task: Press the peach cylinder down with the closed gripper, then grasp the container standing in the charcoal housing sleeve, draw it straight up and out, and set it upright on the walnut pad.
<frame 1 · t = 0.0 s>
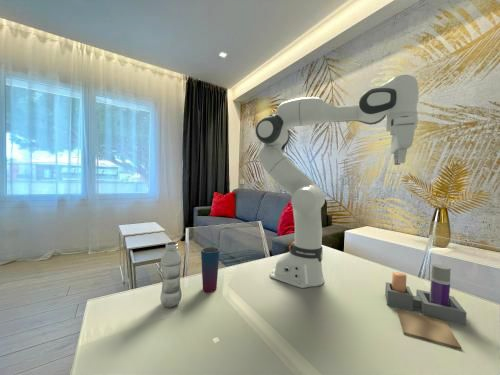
hand: (399, 164, 78), 48 cm above the table, tool pointing down, fingers open, 8 cm apart
peach cylinder: (398, 285, 76), point 6 cm above the table, slide at 0.0 cm
pad: (425, 328, 63), on the table
cup: (209, 289, 82), on the table
housing: (438, 311, 72), on the table
container: (438, 312, 72), resting in housing
plastic bottle: (171, 304, 72), on the table
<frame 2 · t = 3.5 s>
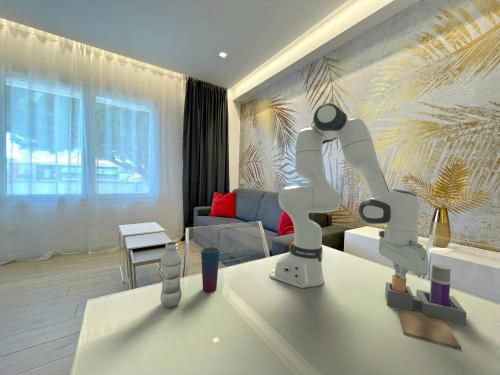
hand: (400, 277, 76), 9 cm above the table, tool pointing down, fingers closed, pressing on peach cylinder
peach cylinder: (398, 288, 76), point 5 cm above the table, slide at 1.1 cm, touching gripper
everything else where it was.
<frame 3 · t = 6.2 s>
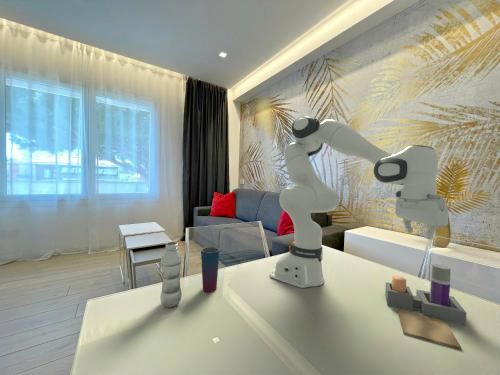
hand: (418, 235, 74), 24 cm above the table, tool pointing down, fingers open, 8 cm apart
peach cylinder: (398, 289, 76), point 5 cm above the table, slide at 1.5 cm
everything else where it was.
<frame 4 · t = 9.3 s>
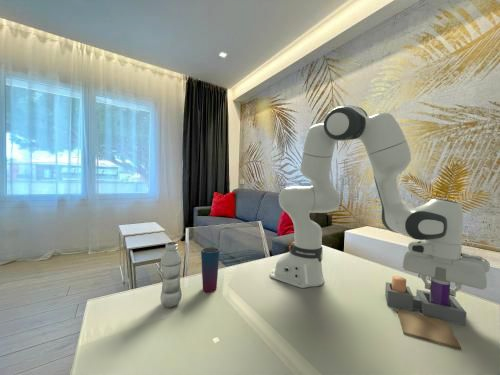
hand: (439, 292, 71), 7 cm above the table, tool pointing down, fingers closed on container, 5 cm apart
container: (438, 312, 72), resting in housing, touching gripper
everything else where it was.
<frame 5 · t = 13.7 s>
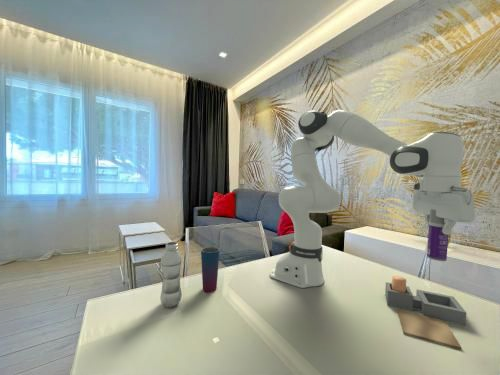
hand: (438, 231, 67), 27 cm above the table, tool pointing down, fingers closed on container, 5 cm apart
container: (436, 259, 68), point 18 cm above the table, touching gripper
everything else where it was.
when the fingers open (9 cm above the table, at t = 18.2 s): container stays where it is, resting on pad.
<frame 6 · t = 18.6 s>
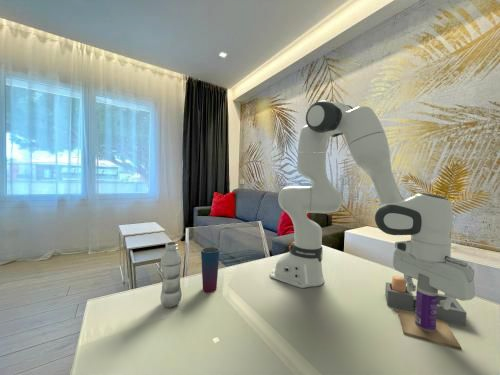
hand: (426, 298, 63), 9 cm above the table, tool pointing down, fingers open, 8 cm apart
container: (424, 326, 63), resting on pad
everything else where it was.
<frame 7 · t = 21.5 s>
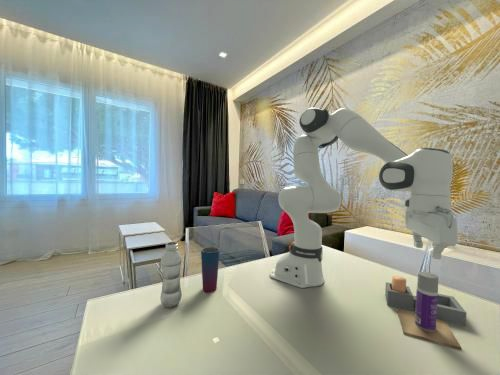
hand: (426, 252, 64), 22 cm above the table, tool pointing down, fingers open, 8 cm apart
nothing on the table moved.
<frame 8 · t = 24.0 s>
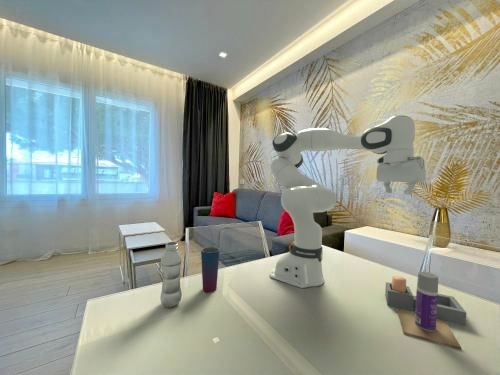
hand: (397, 193, 87), 37 cm above the table, tool pointing down, fingers open, 8 cm apart
nothing on the table moved.
at the end: peach cylinder slide at 1.5 cm; container inside the target area on the pad (0.2 cm from its centre), point 0.4 cm above the pad's base; container tilted 0° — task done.
